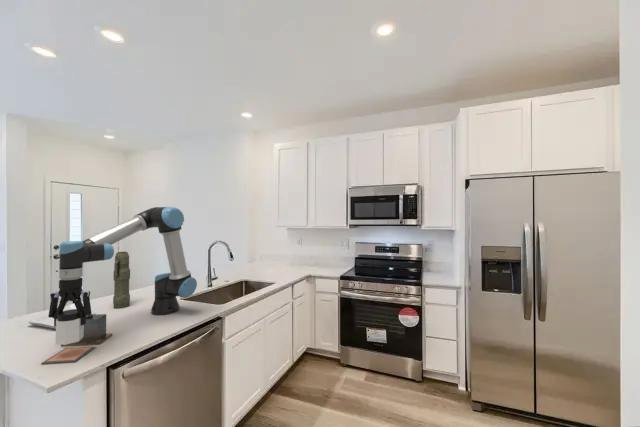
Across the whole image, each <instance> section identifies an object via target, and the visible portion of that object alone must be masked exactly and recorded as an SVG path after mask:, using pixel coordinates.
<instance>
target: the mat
mask: <svg viewBox="0 0 640 427" xmlns="http://www.w3.org/2000/svg"><path fill="white" fill-rule="evenodd" d="M94 349H96V346H95V345H94V346H82V347H78V346H77V347H65V348H63V349H61V350H60V351H58V352H56V353H55V354H54V355H52V356H50V357H49V358H47V359H45V360H44V361H43V362H41V365H42V366H43V365H56V364H58V365H59V364H71V363H72V364H73V363H76V362H77V363H78V361H80V360H81V359H83V357H86V355H88V354H89V353H90V352H92V351H93V350H94Z"/></svg>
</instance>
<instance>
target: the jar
mask: <svg viewBox="0 0 640 427" xmlns="http://www.w3.org/2000/svg"><path fill="white" fill-rule="evenodd" d="M71 309H72V310H70V309H67V310H63V311H62V312H60V313H58V314H57V321H56V329H55V345H60V346H61V345H67V344H71V343H75V342H79V341H80V340H81V339H82V338H83V337H84V332H82V333H80V334H79V321H80V319H78V318H79V317H80V316H79V313H78V311H77V309H76V308H74V309H73V308H71Z"/></svg>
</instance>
